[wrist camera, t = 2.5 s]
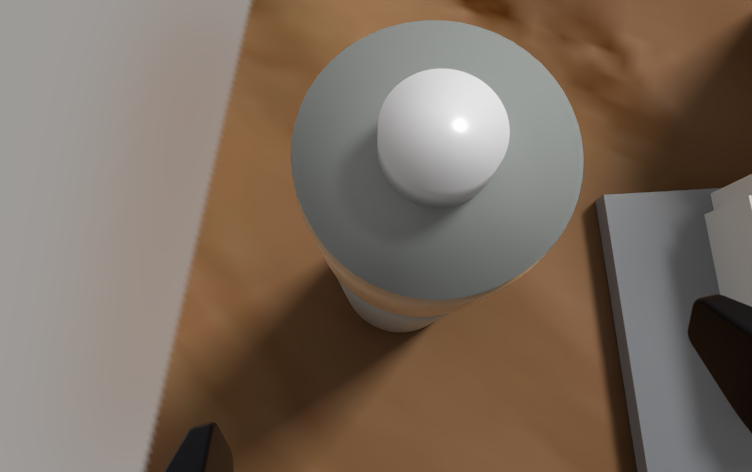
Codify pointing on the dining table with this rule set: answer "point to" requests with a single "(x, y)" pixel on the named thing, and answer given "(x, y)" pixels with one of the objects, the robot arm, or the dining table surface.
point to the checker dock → (676, 319)
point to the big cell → (433, 168)
